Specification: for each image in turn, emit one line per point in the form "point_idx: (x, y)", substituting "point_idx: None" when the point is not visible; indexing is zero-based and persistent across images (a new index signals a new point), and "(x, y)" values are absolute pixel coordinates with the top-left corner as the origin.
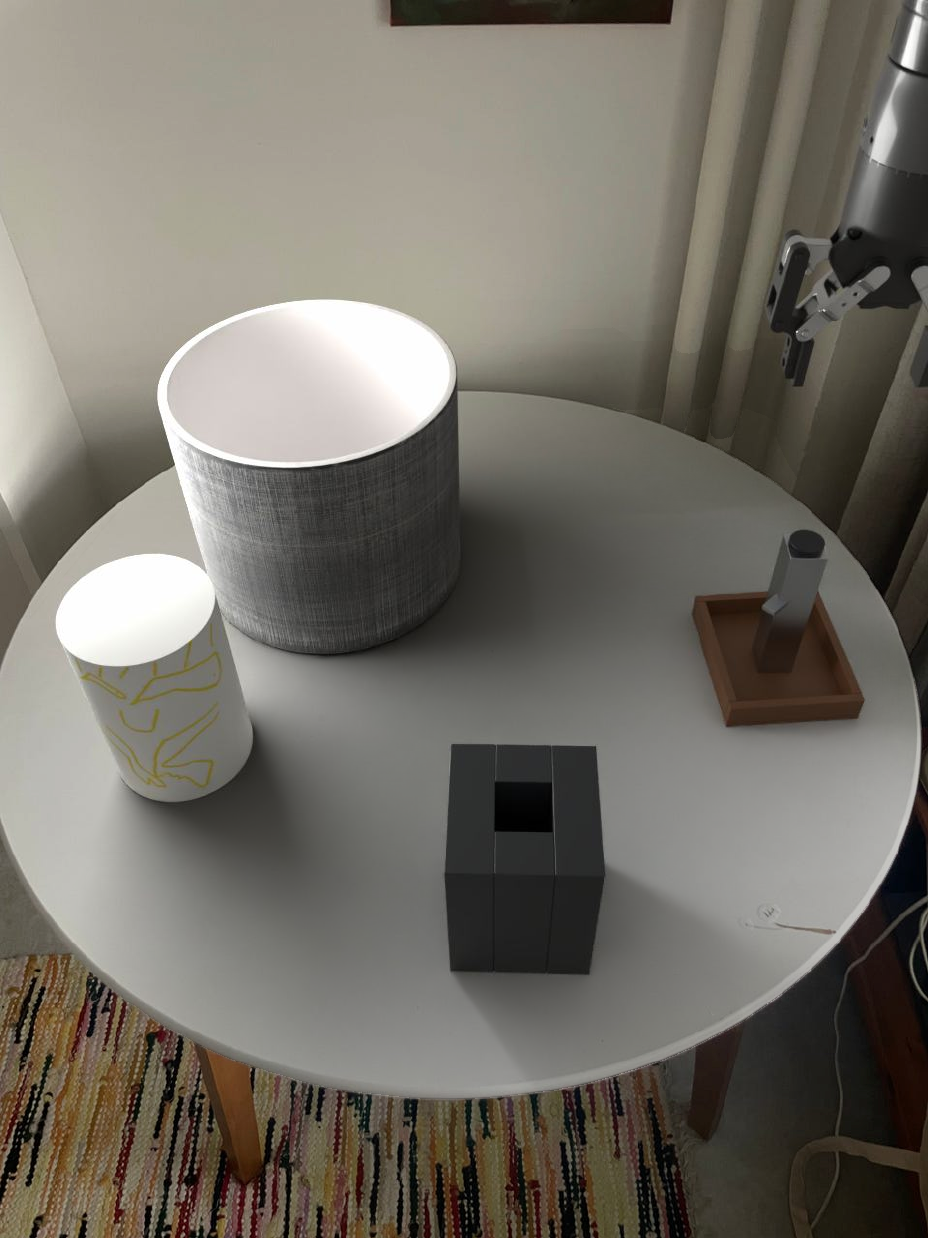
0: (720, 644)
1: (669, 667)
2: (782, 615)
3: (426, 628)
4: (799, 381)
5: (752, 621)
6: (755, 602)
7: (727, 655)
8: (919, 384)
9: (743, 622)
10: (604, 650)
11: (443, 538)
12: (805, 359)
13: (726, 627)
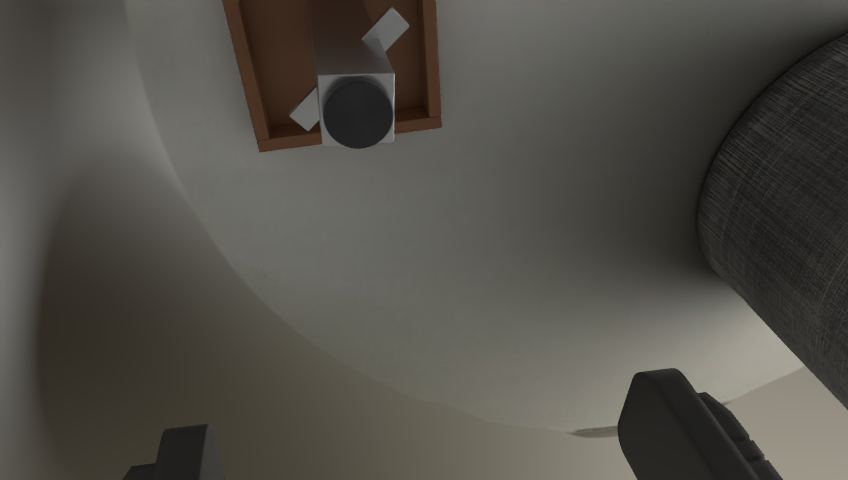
0: (406, 50)
1: (482, 8)
2: (360, 28)
3: (773, 70)
4: (673, 383)
5: None
6: None
7: None
8: (204, 433)
9: None
10: (564, 39)
11: (818, 165)
12: (725, 466)
13: None
